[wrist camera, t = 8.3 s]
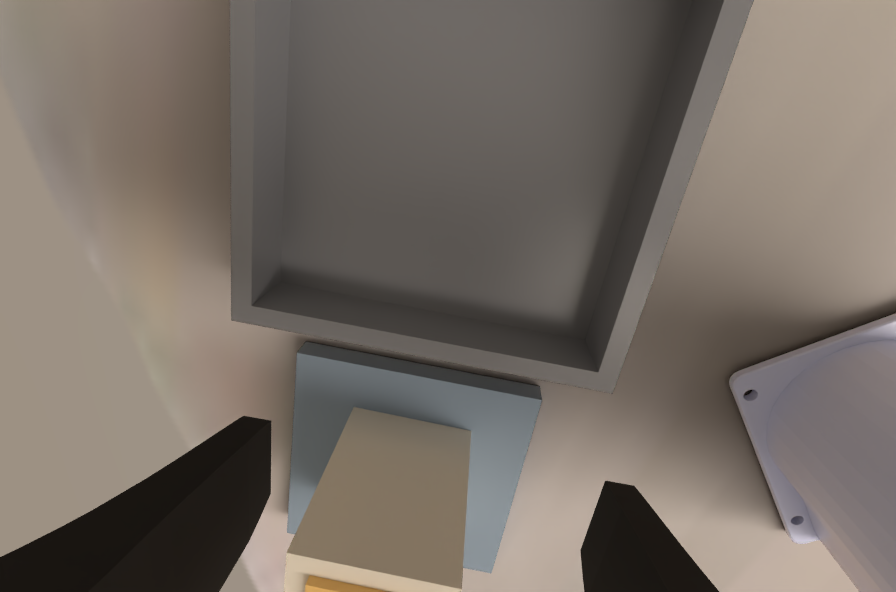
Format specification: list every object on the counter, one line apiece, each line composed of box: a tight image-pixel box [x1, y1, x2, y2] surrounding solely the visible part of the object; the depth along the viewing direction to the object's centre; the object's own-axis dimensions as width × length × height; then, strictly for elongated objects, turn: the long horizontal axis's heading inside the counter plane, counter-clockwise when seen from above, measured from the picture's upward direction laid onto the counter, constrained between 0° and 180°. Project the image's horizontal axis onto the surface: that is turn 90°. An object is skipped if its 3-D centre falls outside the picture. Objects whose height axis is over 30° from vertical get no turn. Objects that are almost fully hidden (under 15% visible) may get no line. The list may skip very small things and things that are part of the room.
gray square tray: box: [230, 0, 754, 394], centre depth 15 cm, size 13×13×3 cm
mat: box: [287, 342, 542, 573], centre depth 21 cm, size 10×10×1 cm
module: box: [284, 407, 471, 592], centre depth 17 cm, size 5×5×7 cm
